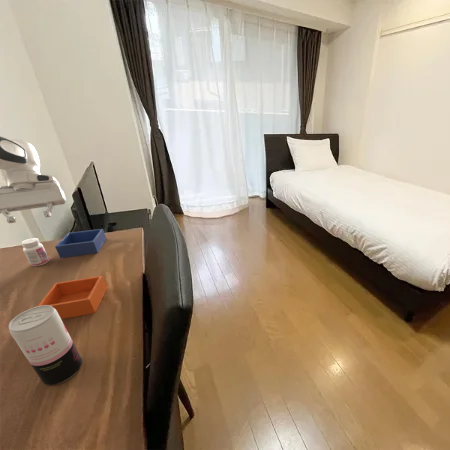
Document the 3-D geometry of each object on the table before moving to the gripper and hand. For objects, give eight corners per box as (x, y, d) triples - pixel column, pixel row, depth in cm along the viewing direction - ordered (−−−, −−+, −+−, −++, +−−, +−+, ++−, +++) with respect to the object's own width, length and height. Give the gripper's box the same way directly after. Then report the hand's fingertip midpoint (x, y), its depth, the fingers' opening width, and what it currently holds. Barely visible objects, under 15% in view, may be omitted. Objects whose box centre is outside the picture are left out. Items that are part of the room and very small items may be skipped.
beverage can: (49, 363, 57) (17, 310, 51) (86, 353, 60) (60, 300, 53) (37, 391, 52) (-2, 336, 45) (78, 379, 54) (47, 324, 48)
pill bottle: (46, 265, 89) (35, 243, 86) (28, 268, 88) (16, 245, 84) (52, 257, 93) (41, 236, 90) (34, 260, 92) (23, 238, 88)
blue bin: (60, 258, 93) (54, 246, 91) (72, 243, 102) (67, 232, 100) (97, 252, 96) (93, 241, 94) (106, 239, 105) (102, 228, 103)
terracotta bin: (43, 322, 67) (35, 308, 65) (61, 296, 76) (55, 282, 74) (95, 312, 70) (89, 299, 68) (107, 288, 79) (102, 275, 77)
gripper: (-22, 183, 88) (-19, 222, 85) (58, 175, 97) (63, 210, 94) (-10, 192, 93) (-6, 229, 90) (65, 184, 102) (70, 216, 99)
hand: (30, 219), depth 92 cm, fingers open, 8 cm apart
